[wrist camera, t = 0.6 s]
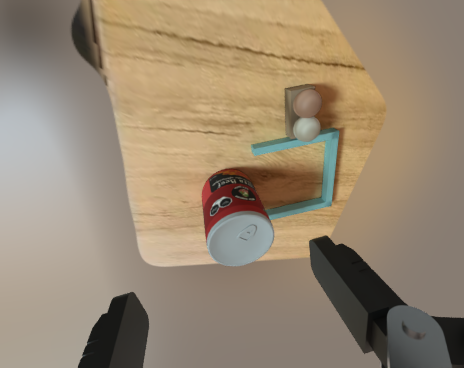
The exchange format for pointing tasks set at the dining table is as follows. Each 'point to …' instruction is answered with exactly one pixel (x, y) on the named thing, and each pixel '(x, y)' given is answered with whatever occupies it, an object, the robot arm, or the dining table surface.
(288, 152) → the dining table surface
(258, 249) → the canned food
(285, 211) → the teal bay
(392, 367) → the robot arm
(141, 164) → the dining table surface
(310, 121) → the egg holder with eggs
